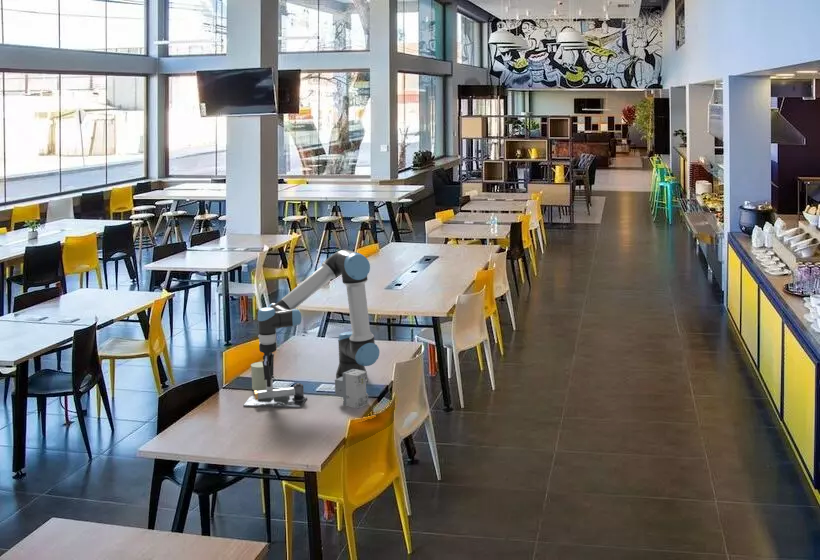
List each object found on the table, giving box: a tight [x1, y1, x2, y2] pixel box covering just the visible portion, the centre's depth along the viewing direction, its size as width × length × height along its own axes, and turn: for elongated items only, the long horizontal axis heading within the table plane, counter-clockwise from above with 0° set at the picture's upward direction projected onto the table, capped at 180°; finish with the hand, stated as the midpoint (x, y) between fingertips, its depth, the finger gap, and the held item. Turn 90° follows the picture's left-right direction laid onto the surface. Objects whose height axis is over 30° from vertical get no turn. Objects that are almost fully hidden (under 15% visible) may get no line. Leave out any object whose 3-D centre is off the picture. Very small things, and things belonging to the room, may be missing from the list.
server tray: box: [242, 395, 308, 409], centre depth 422 cm, size 26×13×3 cm, turn 83°
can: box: [250, 361, 266, 391], centre depth 443 cm, size 9×9×12 cm
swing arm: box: [253, 382, 305, 400], centre depth 422 cm, size 22×4×7 cm, turn 106°
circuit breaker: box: [334, 369, 369, 409], centre depth 419 cm, size 8×14×15 cm, turn 55°
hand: (269, 392), depth 423 cm, fingers closed
